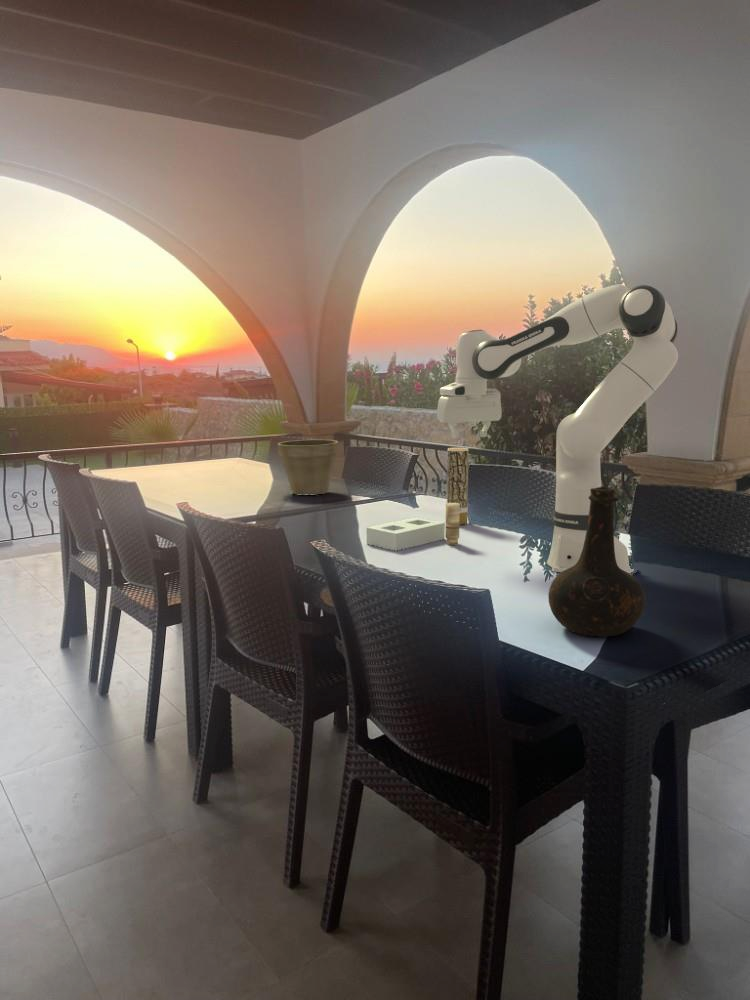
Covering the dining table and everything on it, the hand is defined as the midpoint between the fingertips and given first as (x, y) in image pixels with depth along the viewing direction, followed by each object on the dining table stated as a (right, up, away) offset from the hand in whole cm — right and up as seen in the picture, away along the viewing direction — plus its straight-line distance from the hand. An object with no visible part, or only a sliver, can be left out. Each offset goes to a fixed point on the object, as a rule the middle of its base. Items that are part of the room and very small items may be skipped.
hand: (469, 437), depth 209 cm
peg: (-4, -31, +4) cm, 32 cm away
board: (-18, -30, +8) cm, 36 cm away
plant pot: (-55, -15, +96) cm, 112 cm away
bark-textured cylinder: (0, -26, +33) cm, 42 cm away
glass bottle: (+16, -44, -67) cm, 82 cm away
